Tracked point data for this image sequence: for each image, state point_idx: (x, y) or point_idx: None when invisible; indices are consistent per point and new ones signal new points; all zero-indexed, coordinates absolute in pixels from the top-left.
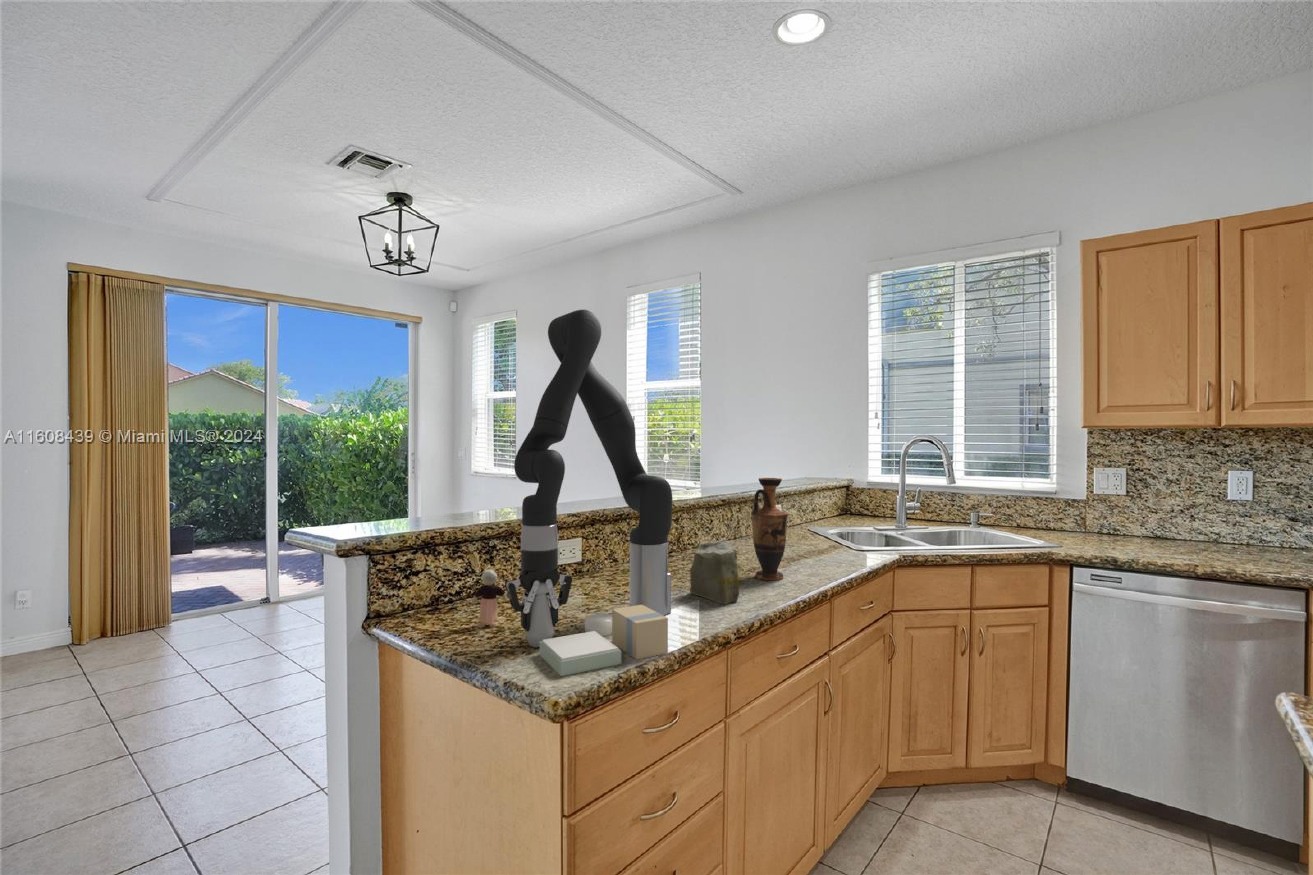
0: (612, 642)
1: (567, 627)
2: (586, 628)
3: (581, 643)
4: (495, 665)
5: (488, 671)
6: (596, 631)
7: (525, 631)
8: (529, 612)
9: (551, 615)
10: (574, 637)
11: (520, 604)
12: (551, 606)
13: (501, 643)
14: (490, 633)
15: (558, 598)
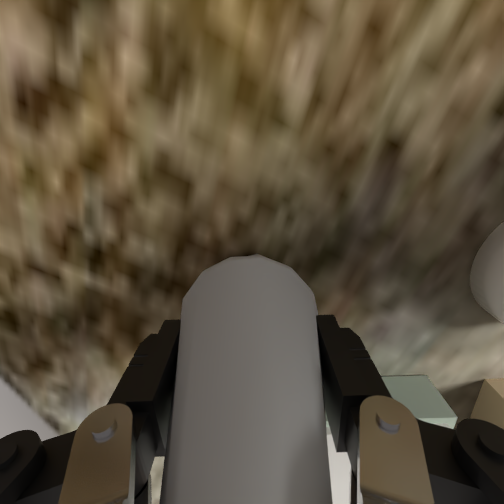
0: (484, 382)
1: (466, 123)
2: (492, 283)
3: (336, 501)
4: (75, 399)
5: (57, 424)
6: (502, 323)
7: (182, 301)
8: (169, 424)
9: (326, 392)
10: (344, 456)
11: (59, 495)
12: (351, 437)
13: (94, 215)
14: (26, 8)
15: (460, 492)
